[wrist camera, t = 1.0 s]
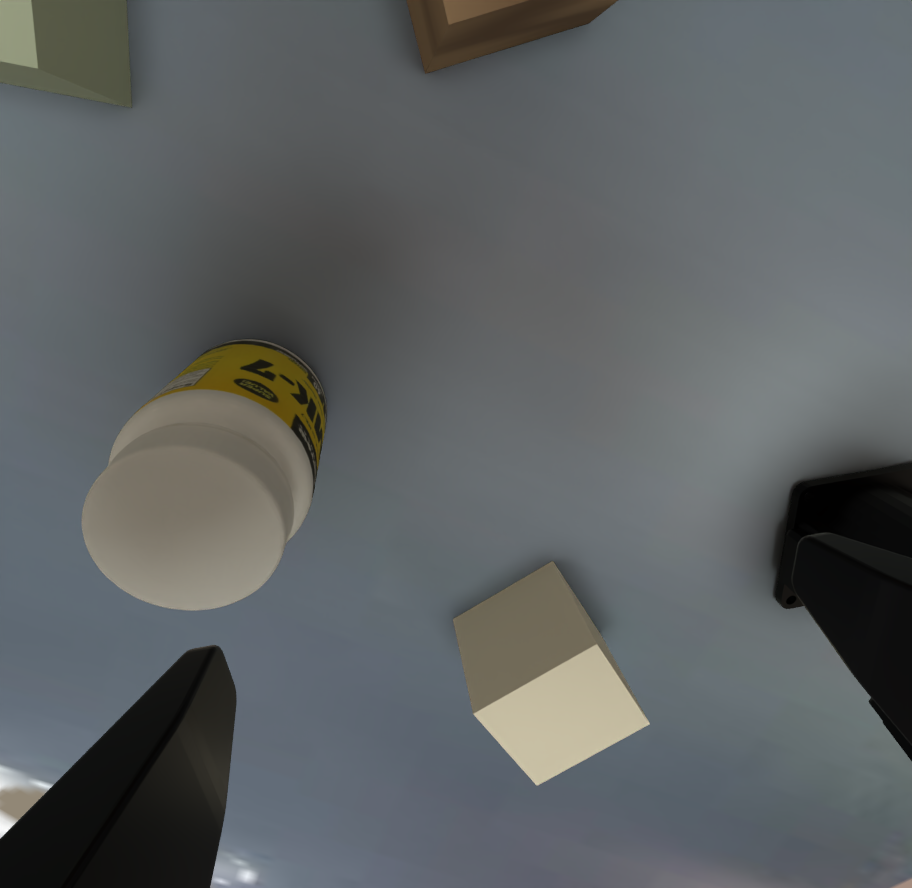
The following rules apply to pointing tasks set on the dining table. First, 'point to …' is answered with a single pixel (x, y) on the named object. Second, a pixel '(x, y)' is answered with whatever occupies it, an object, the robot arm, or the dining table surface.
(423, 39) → the walnut block
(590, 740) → the cream block
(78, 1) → the sage block
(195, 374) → the supplement bottle
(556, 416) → the dining table surface
